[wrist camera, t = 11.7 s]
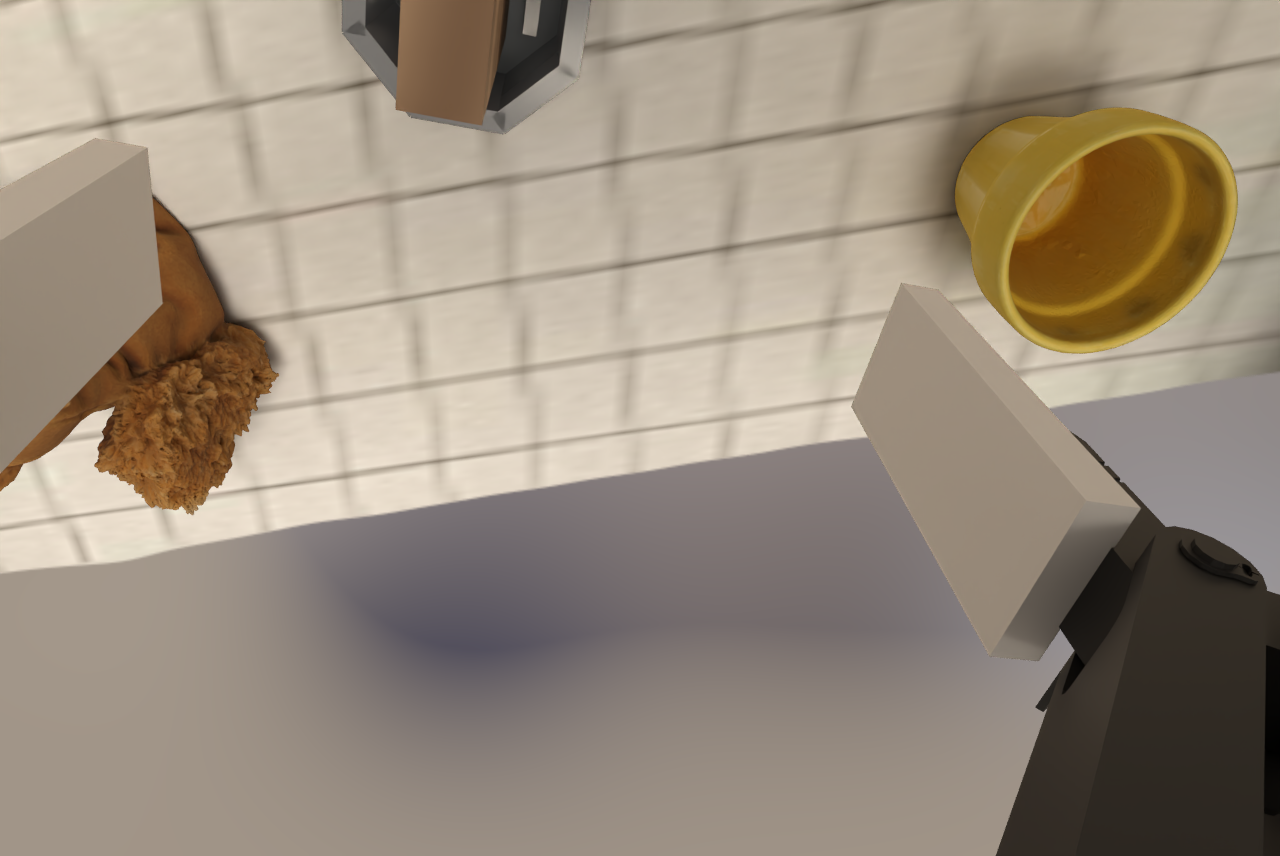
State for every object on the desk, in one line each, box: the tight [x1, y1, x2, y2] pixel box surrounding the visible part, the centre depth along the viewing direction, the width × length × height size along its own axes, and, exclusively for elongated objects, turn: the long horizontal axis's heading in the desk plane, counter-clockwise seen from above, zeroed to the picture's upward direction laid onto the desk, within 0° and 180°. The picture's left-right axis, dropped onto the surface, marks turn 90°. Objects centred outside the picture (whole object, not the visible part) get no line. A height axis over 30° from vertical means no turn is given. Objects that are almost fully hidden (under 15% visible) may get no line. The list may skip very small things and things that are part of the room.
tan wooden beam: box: [396, 0, 510, 126], centre depth 29 cm, size 2×4×16 cm, turn 168°
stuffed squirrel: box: [0, 197, 279, 515], centre depth 38 cm, size 10×14×13 cm
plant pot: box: [955, 108, 1238, 353], centre depth 40 cm, size 10×10×10 cm
